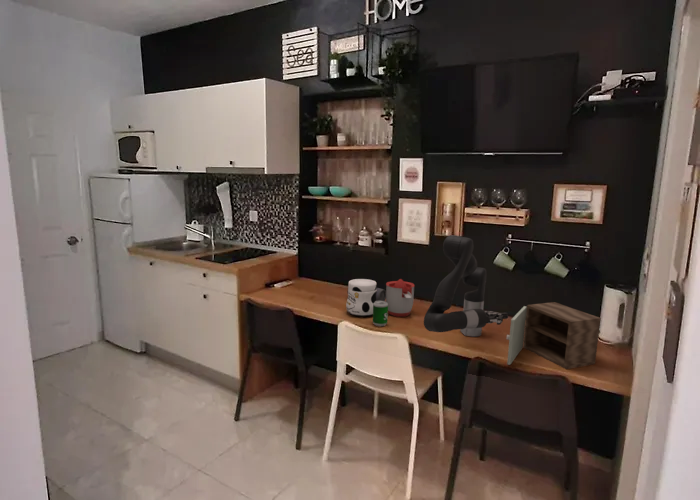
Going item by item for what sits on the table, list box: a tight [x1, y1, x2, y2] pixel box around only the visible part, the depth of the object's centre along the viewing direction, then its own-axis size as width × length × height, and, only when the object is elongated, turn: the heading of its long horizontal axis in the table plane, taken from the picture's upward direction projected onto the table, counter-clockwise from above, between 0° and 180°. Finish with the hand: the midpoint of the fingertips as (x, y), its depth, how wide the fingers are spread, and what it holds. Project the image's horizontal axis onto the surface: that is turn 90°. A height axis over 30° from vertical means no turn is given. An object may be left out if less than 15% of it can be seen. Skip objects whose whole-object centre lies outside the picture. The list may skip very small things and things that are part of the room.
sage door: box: [505, 305, 527, 366], centre depth 189 cm, size 3×24×19 cm, turn 147°
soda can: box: [372, 300, 389, 327], centre depth 225 cm, size 8×8×12 cm
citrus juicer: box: [385, 278, 416, 318], centre depth 242 cm, size 16×17×20 cm
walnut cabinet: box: [522, 301, 602, 370], centre depth 190 cm, size 16×24×20 cm, turn 21°
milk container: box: [345, 278, 378, 317], centre depth 242 cm, size 17×17×18 cm
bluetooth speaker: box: [347, 287, 386, 301], centre depth 265 cm, size 23×9×10 cm, turn 55°
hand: (506, 315), depth 180 cm, fingers closed
